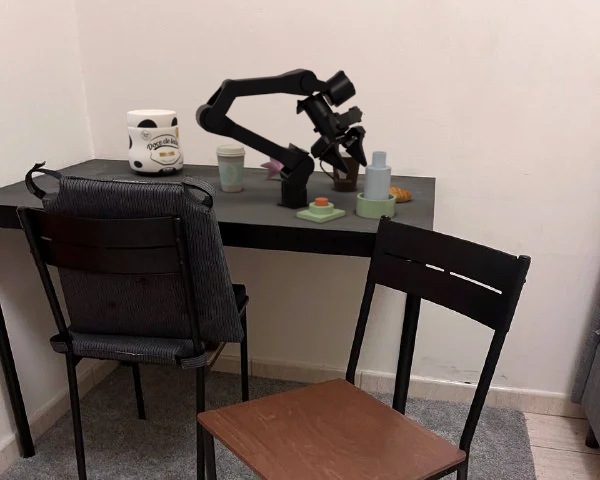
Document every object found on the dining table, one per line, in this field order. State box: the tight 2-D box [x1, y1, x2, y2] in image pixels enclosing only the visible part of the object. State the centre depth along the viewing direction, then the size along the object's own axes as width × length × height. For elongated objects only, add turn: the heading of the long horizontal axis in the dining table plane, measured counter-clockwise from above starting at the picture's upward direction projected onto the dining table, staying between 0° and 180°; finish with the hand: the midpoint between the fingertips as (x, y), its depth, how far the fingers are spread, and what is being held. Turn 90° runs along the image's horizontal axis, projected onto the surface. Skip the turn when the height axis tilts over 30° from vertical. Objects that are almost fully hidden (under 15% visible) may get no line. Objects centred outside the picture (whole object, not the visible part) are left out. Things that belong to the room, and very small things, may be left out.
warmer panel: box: [296, 201, 346, 224], centre depth 157 cm, size 8×10×3 cm
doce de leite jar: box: [126, 109, 185, 176], centre depth 196 cm, size 17×17×18 cm
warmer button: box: [314, 197, 329, 206], centre depth 156 cm, size 3×3×2 cm
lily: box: [259, 157, 284, 181], centre depth 190 cm, size 12×12×10 cm
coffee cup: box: [215, 144, 247, 193], centre depth 178 cm, size 8×8×12 cm
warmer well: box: [355, 191, 397, 220], centre depth 160 cm, size 10×10×4 cm
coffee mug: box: [319, 151, 361, 193], centre depth 182 cm, size 12×9×10 cm
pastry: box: [389, 185, 412, 203], centre depth 173 cm, size 9×7×4 cm
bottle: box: [363, 150, 392, 200], centre depth 157 cm, size 6×6×14 cm
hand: (357, 169), depth 157 cm, fingers open, 9 cm apart
